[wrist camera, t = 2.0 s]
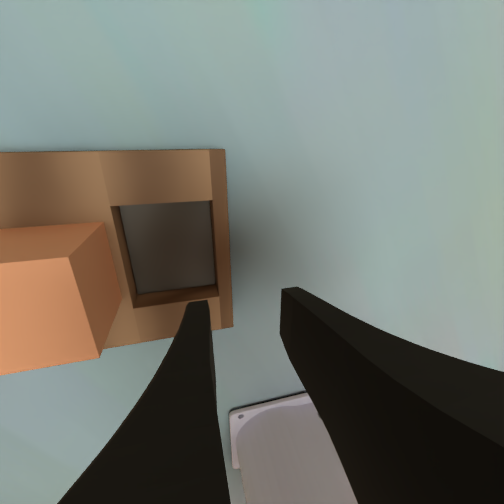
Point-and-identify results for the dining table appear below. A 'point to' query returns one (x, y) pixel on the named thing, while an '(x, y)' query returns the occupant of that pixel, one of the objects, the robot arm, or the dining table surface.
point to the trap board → (136, 226)
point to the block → (55, 295)
